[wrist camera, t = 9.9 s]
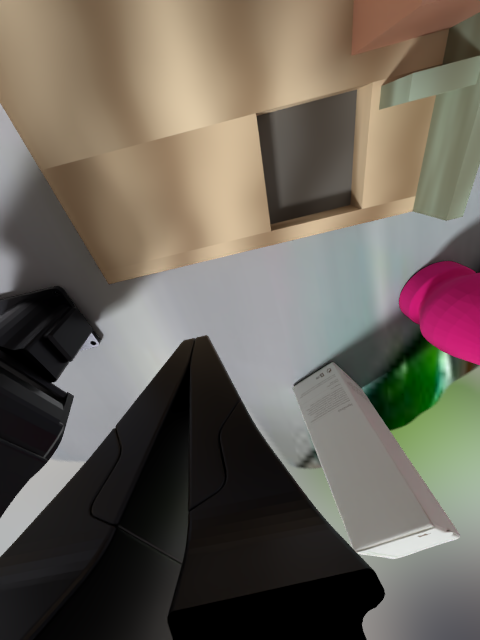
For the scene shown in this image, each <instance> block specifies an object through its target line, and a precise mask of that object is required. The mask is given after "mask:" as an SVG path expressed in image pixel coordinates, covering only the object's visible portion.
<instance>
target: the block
mask: <svg viewBox="0 0 480 640" xmlns="http://www.w3.org/2000/svg"><path fill="white" fill-rule="evenodd" d="M479 12H480V0H354V4H353V29H352V53H351V56H352V55H356V54H359V53H363V52H367V51H370V50H374V49H377V48H381V47H385V46H388V45H392V44H395V43H399V42H402V41H406V40H410V39H413V38H417V37H420V36H424V35H427V34H431V33H435V32H438V31H442V30H445V29H449V28H451V27H453V26H455V25H457V24H459V23H460V22H462V21H464V20H466V19H468V18H470V17H472V16H473V15H475V14H477V13H479Z"/></svg>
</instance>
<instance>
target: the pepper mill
mask: <svg viewBox="0 0 480 640" xmlns="http://www.w3.org/2000/svg"><path fill="white" fill-rule="evenodd" d="M399 307H400V309H401V311H402V312H403V313H404V314H405V315H406V316H407V317H408V318H410V319H411V320H412V321H413V322H415V323H417V324H420V330H421V333H422V335H423V336H424V338H425V339H426V340H427V341H428V342H430V343H431V344H432V345H434V346H435V347H437V348H438V349H440V350H441V351H443V352H445V353H448V354H450V355H452V356H454V357H457V358H460V359H463V360H466V361H469V362H472V363H475V364H478V365H480V273H476V272H475V271H474V270H472V269H470V268H468V267H466V266H463V265H461V264H459V263H456V262H453V261H442V262H438V263H434V264H432V265H429V266H427V267H425V268H424V269H422V270H420V271H419V272H418V273H416V274H415V275H414V276H413V277H412V278H411V279H410V280H409V281H408V282H407V283H406V285H405V286H404V288H403V290H402V292H401V294H400V298H399Z"/></svg>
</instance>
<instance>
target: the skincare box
mask: <svg viewBox="0 0 480 640" xmlns="http://www.w3.org/2000/svg"><path fill="white" fill-rule="evenodd" d="M293 392H294V394H295V397H296V399H297V402H298V405H299V407H300V410H301V413H302V415H303V418H304V421H305V423H306V426H307V428H308V431H309V434H310V436H311V439H312V442H313V444H314V447H315V449H316V452H317V455H318V457H319V460H320V463H321V466H322V468H323V471H324V473H325V476H326V479H327V481H328V484H329V487H330V489H331V492H332V495H333V497H334V500H335V502H336V505H337V508H338V510H339V513H340V516H341V518H342V521H343V523H344V527H345V529H346V532H347V534H348V537H349V540H350V543H351V545H352V548H353V549H354V550H355V551H356V553H357V554H364V555H371V556H379V557H386V558H390V559H396V558H400V557H404V556H406V555H410V554H412V553H415V552H418V551H421V550H424V549H427V548H430V547H433V546H436V545H439V544H442V543H445V542H449V541H452V540H455V539H458V538H459V537H460V534H459V533H458V531H457V529H456V528H455V526H454V525H453V523H452V522H451V520H450V519H449V518H448V516H447V515H446V513H445V512H444V510H443V509H442V507H441V506H440V504H439V503H438V501H437V500H436V498H435V497H434V495H433V494H432V493H431V491H430V490H429V488H428V487H427V485H426V484H425V482H424V481H423V479H422V478H421V476H420V475H419V473H418V472H417V470H416V469H415V467H414V466H413V465H412V463H411V462H410V460H409V459H408V457H407V456H406V454H405V453H404V451H403V450H402V448H401V447H400V445H399V444H398V442H397V441H396V439H395V438H394V436H393V435H392V433H391V432H390V430H389V429H388V428H387V426H386V425H385V423H384V422H383V420H382V419H381V417H380V416H379V414H378V413H377V411H376V410H375V408H374V407H373V405H372V404H371V402H370V401H369V399H368V398H367V396H366V395H365V393H364V392H363V390H362V389H361V387H360V386H359V385H358V384H356V383H355V382H354V381H353V380H352V379H351V378H350V377H349V376H348V375H347V374H346V373H345V372H344V371H343V370H342V369H341V368H340V367H339V366H337V365H336V364H335V363H334V362H332V363H330V364H328V365H326V366H325V367H323V368H322V369H320V370H318V371H317V372H315V373H314V374H312V375H311V376H309V377H308V378H306V379H304V380H303V381H301V382H300V383H298V384H297V385H295V386H294V387H293Z"/></svg>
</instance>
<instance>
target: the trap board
mask: <svg viewBox="0 0 480 640" xmlns="http://www.w3.org/2000/svg"><path fill="white" fill-rule="evenodd" d="M353 4H354V0H0V103H1V105H2V106H3V108H4V110H5V111H6V113H7V115H8V116H9V118H10V120H11V121H12V123H13V125H14V127H15V128H16V130H17V132H18V133H19V135H20V137H21V138H22V140H23V142H24V143H25V145H26V147H27V148H28V150H29V152H30V153H31V155H32V157H33V158H34V160H35V162H36V163H37V165H38V167H39V168H40V170H41V172H42V173H43V175H44V177H45V178H46V180H47V182H48V183H49V185H50V187H51V188H52V190H53V192H54V194H55V195H56V197H57V199H58V200H59V202H60V204H61V205H62V207H63V209H64V210H65V212H66V214H67V215H68V217H69V219H70V220H71V222H72V224H73V225H74V227H75V229H76V230H77V232H78V234H79V235H80V237H81V239H82V240H83V242H84V244H85V245H86V247H87V249H88V250H89V252H90V254H91V256H92V257H93V259H94V261H95V262H96V264H97V266H98V267H99V269H100V271H101V272H102V274H103V276H104V277H105V279H106V281H107V282H108V284H112V283H116V282H120V281H124V280H129V279H133V278H137V277H141V276H145V275H149V274H154V273H158V272H162V271H166V270H170V269H174V268H178V267H183V266H187V265H191V264H195V263H199V262H203V261H208V260H212V259H216V258H220V257H224V256H228V255H233V254H237V253H241V252H245V251H249V250H253V249H257V248H262V247H266V246H270V245H274V244H278V243H282V242H287V241H291V240H295V239H299V238H303V237H307V236H312V235H316V234H320V233H324V232H328V231H332V230H336V229H341V228H345V227H349V226H353V225H357V224H361V223H366V222H370V221H374V220H378V219H382V218H386V217H391V216H395V215H399V214H403V213H407V212H411V211H414V212H417V213H421V214H424V215H428V216H431V217H435V218H439V219H442V220H446V221H447V220H451V219H455V218H459V217H463V214H464V211H465V208H466V205H467V201H468V198H469V195H470V192H471V189H472V186H473V183H474V180H475V177H476V173H477V170H478V167H479V164H480V12H479V13H477V14H475V15H473V16H472V17H470V18H468V19H466V20H464V21H462V22H460V23H459V24H457V25H455V26H453V27H451V28H449V29H445V30H442V31H438V32H435V33H431V34H427V35H424V36H420V37H417V38H413V39H410V40H406V41H402V42H399V43H395V44H392V45H388V46H385V47H381V48H377V49H374V50H370V51H367V52H363V53H359V54H356V55H352V56H351V53H352V29H353Z"/></svg>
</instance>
